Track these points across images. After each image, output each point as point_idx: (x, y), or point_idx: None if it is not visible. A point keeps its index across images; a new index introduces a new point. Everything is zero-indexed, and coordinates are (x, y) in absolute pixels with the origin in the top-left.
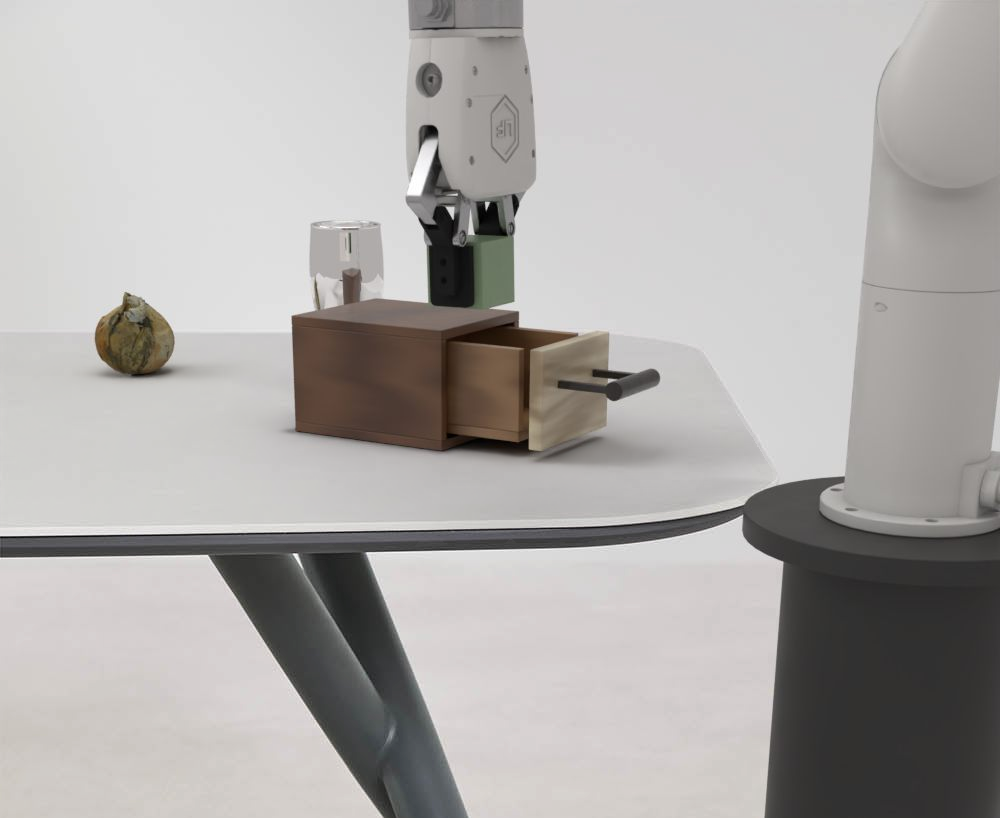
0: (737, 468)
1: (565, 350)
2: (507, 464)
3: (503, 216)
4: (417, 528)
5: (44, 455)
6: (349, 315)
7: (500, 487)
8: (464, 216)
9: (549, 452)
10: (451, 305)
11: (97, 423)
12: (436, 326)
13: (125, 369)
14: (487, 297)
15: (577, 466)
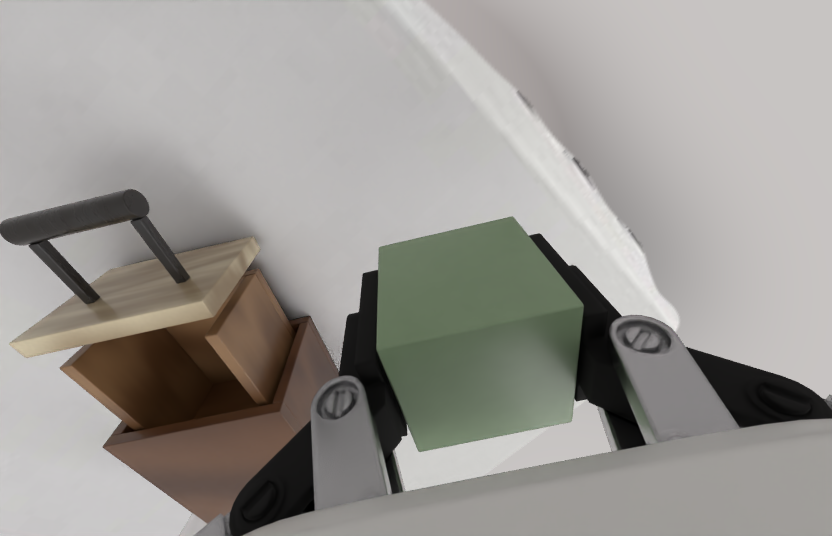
0: (23, 32)
1: (144, 309)
2: (290, 248)
3: (375, 435)
4: (541, 133)
5: (518, 435)
6: None
7: (362, 189)
8: (680, 393)
9: None
10: None
11: (438, 470)
12: (266, 428)
13: None
14: (500, 231)
15: (231, 196)
